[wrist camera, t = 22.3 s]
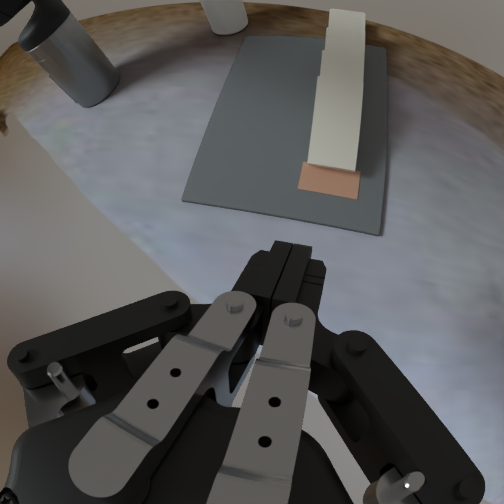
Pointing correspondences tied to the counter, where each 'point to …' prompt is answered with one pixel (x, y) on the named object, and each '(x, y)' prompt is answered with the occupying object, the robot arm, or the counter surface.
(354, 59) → the domino
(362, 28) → the domino
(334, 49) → the domino
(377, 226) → the slate mat
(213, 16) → the can
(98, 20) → the counter surface
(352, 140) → the domino
